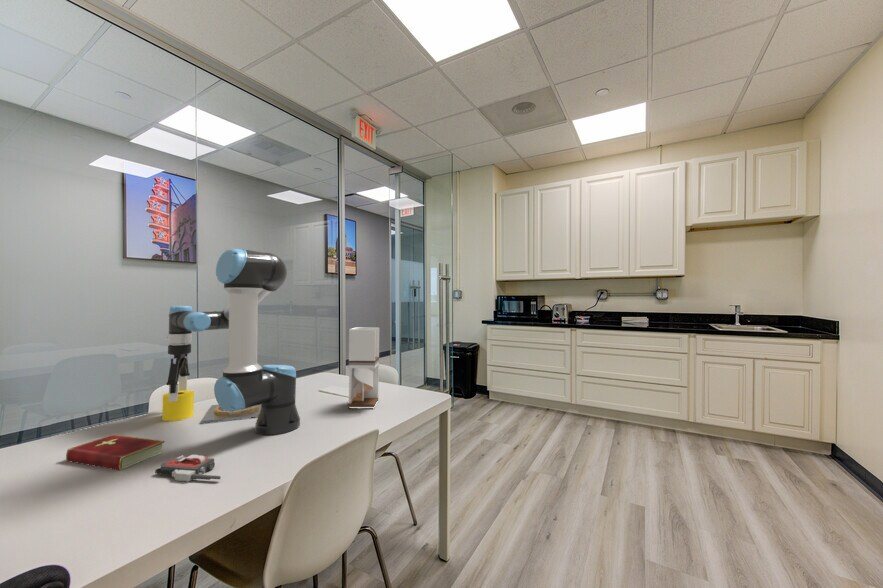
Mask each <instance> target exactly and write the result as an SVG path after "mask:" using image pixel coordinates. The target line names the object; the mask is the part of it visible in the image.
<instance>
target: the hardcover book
mask: <svg viewBox="0 0 883 588" xmlns="http://www.w3.org/2000/svg"><path fill="white" fill-rule="evenodd" d="M164 443H165V441H164V440H159V439H158V440H157V439H151V438H144V437H137V436H129V435H122V434H115V433H114V434H110V435H107V436H104V437H101V438H98V439H95V440H91V441H88V442H86V443H82V444H80V445H79V444H78V445H76V446H74V447H69V448H68V449H67V450H66V453H65V454H66V455H65V458H66V459H65V460H66V462H68V461H72V462H71V463H74V462H78V463H77V464H80V463H83V464H82V465H86V464H89V465H88V466H92V465H95V466H94V467H98V466H100V467H99V468H103V467H106V468H105V469H109V468H112V469H111V470H115V469H116V471H123V469H126V468H129V467H131V466H134V465H136V464H138V463H141V462H143V461H145V459H146V460H148V459H150V458H152V457H155V456H157V455H160V454H162V453H163V452H162V451H163V444H164ZM147 458H148V459H147ZM140 461H141V462H140Z"/></svg>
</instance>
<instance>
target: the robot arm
mask: <svg viewBox="0 0 883 588" xmlns="http://www.w3.org/2000/svg"><path fill="white" fill-rule="evenodd" d="M287 274H288V270H287V266H286V264H285V262H284V260H283V259H282V258H281V257H279V256H278V255H276V254H275V253H274V254H273V253H271V252H262V251H256V250H249V249H243V248H229V249H227V250H225V251H224V252H222V254H221V255H220V257H218V260H217V263H216V267H215V275H216V278H217V281H218V282H220V283H221V284H223V289H224V290H225V291H226V292H227V294H228V305H226V307H225V308H223V310H218V311H217V310H214V311H193V307H192V306H191V305H173V306H172V305H171V306H170V308H169V311H168V312H169V313H168V335H167V336H166V338H167V339H168V341H167V342H168V346H167V354H168V355H172V356H173V358H170V365H169V373H168V378H167V382H166V386H168V393H169V402H172V401H178V391H182V390H188V376H189V377H190V371H189V360H188V356H189V355H188V354H190V353H192V344H191V343H193V342H192V338H193V336H192V335H193V334H192V333H193V332H195V333H196V332H197V333H198V332H203V331H214V330H215V331H217V330H228V344H227V345H228V346H227V347H228V348H227V349H228V352H227V354H228V358H227V359H228V361H227V364H228V365H227V366H226V367H225V368H224V369H222V376H220V377H219V378H218V379H217V380H215V383H214V388H213V391H214V392H213V393H214V397H215V400H216V402H217V405H219V406H220V407H221V408H222V409H223V410H225V411H227V412H233V411H238V410H240V411H241V410H243V409H246V408H250V407H253V406H257V405H261V410H260V413H259V416H258V417H257V419H256V422H255V425H254V427H255V428H254V431H255V432H256V433H257V434H260V435H265V436H266V435H271V436H273V435H279V434H285V433H289V432H292V431H294V430H296V429H298V428H299V427H300V425H301V417H300V414H299V411H298V409H297V405H296V397H297V396H296V395H297V393H296V392H297V391H296V389H297V387H296V385H297V372H296V368H295V367H294V366H292V365H289V364H288V365H287V364H264V365H262V366H261V365H260V364H259V363H258V328H259V327H258V324H259V323H258V322H259V321H258V320H259V319H258V317H259V314H258V312H259V311H258V310H259V303H261V301H262V300H264V299H265V298H266V297H267V296H268V295H269V294H270V293H271V292H273V293H274V292H275V291H277V290H278V289H280V288H281V286H283V284H284V283H285V281H286V279H287Z"/></svg>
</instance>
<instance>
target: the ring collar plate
mask: <svg viewBox="0 0 883 588" xmlns="http://www.w3.org/2000/svg"><path fill="white" fill-rule="evenodd" d="M260 410H261V405H257V406H253V407H250V408H246V409H243V410H241V411H240V410H238V411H233V412H227V411H225V410H223V409H222V408H221V407H220V406H219V404H212V405H211V406H210V407H209V408H208V410H207V412H206V413H205V414H204V416H203V418H202V419H201V420H200V424H201V425H203V423H205V424H211V423H210V422H214V423H219V422H218V421H222V422H227V421H226V420H231V421H235V420H234V419H240V420H243V419H242V418H249V419H251V418H250V417H257V418H258V416H259V413H260Z"/></svg>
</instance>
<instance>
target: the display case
mask: <svg viewBox="0 0 883 588" xmlns="http://www.w3.org/2000/svg"><path fill="white" fill-rule="evenodd" d="M348 330H349V331H348V332H349V333H348V334H349V336H348V338H349V339H348V369H349V371H348V373H349V374H348V378H349V379H348V382H349V383H348V403H347V408H348V407H374V406H375V404H376V402H377V401H378V402H379V378H380V375H379V374H380V373H379V371H380V368H379V366H380V363H379V362H380V327H353V328H349V329H348Z"/></svg>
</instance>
